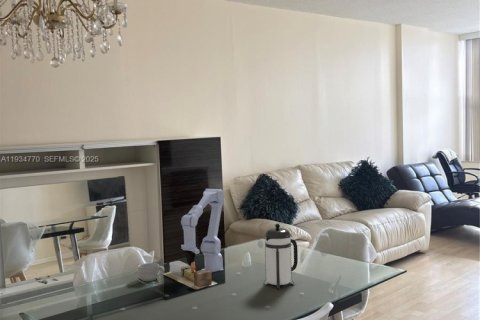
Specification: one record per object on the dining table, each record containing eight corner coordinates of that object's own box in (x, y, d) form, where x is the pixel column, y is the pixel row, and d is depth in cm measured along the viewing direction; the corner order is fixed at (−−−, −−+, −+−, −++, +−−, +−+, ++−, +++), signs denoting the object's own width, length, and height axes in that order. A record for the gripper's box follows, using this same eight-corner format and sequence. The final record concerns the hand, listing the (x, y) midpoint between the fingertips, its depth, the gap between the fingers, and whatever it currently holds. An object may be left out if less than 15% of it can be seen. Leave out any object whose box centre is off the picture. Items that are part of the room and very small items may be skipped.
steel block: (179, 270, 259) (178, 260, 259) (190, 275, 250) (190, 265, 249) (169, 272, 256) (169, 262, 255) (181, 278, 246) (180, 267, 246)
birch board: (183, 269, 263) (183, 268, 263) (218, 284, 236) (217, 283, 236) (162, 274, 255) (162, 273, 255) (195, 290, 229) (195, 289, 229)
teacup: (134, 281, 245) (133, 266, 244) (147, 275, 254) (147, 260, 254) (156, 285, 238) (155, 269, 238) (169, 278, 248) (168, 263, 247)
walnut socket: (206, 281, 239) (205, 269, 239) (211, 284, 235) (211, 271, 235) (194, 285, 235) (193, 271, 235) (199, 287, 231) (199, 274, 231)
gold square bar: (181, 270, 255) (180, 255, 254) (200, 279, 239) (200, 263, 239) (176, 272, 253) (175, 257, 252) (195, 280, 238) (195, 264, 237)
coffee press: (295, 290, 225) (293, 227, 223) (261, 289, 228) (259, 226, 226) (298, 278, 242) (297, 219, 240) (266, 277, 245) (265, 219, 243)
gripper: (175, 237, 246) (176, 263, 247) (190, 242, 234) (191, 269, 235) (187, 235, 250) (188, 261, 251) (202, 240, 238) (203, 267, 239)
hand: (190, 265), depth 243 cm, fingers closed
